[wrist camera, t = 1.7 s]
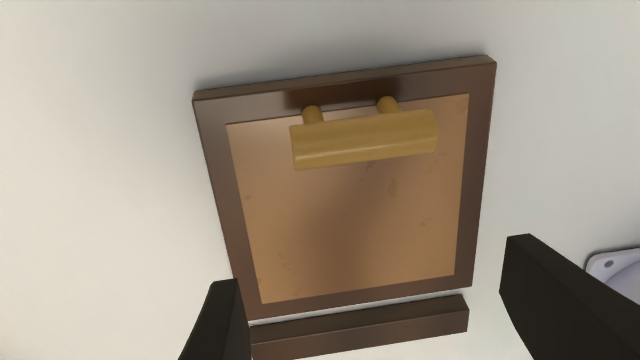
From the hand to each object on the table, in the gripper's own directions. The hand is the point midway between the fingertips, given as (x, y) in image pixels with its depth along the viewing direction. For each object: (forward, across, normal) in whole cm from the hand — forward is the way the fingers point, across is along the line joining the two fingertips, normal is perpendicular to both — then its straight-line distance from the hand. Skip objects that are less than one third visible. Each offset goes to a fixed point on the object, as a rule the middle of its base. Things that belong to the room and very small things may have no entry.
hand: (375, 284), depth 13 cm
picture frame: (+10, -1, +4) cm, 10 cm away
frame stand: (+10, -1, +12) cm, 16 cm away
